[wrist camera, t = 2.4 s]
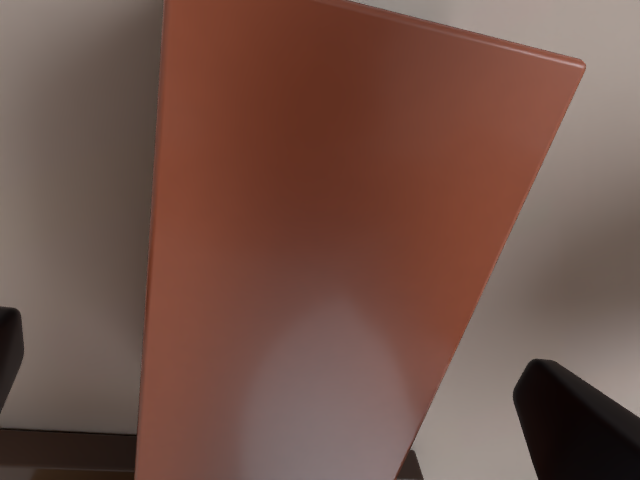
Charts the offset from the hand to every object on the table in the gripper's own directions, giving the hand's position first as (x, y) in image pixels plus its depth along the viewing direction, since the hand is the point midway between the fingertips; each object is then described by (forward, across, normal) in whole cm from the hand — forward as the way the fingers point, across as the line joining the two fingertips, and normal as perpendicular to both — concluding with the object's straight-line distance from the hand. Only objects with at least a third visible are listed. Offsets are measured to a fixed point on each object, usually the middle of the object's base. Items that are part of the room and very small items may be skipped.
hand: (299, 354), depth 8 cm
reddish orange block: (+4, 0, 0) cm, 4 cm away
